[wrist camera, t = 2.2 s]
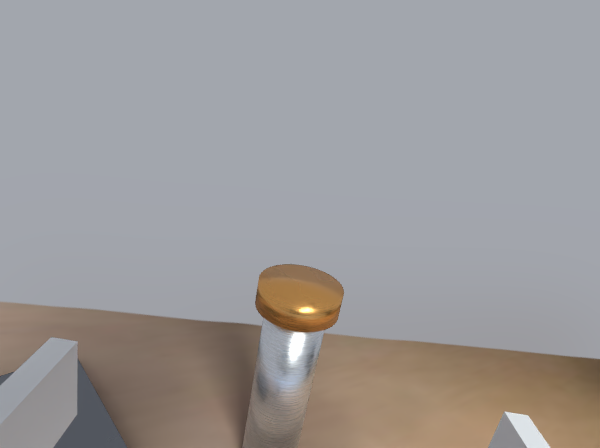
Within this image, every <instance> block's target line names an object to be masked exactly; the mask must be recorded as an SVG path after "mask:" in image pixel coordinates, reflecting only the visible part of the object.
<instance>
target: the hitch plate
mask: <svg viewBox="0 0 600 448" xmlns="http://www.w3.org/2000/svg"><path fill="white" fill-rule="evenodd" d="M13 373H14V372H12V373H9V374H5V375H2V376H0V385H1V384H2V383H3V382H5V381H6V380H7V379H8V378H9V377H10V376H11V375H12V374H13ZM53 448H127V446H126V445H125V443H124V441H123V439H122V437H121V436H120V434H119V432H118V430H117V428H116V427H115V425H114V423H113V421H112V419H111V418H110V416H109V414H108V412H107V410H106V409H105V407H104V405H103V403H102V401H101V400H100V398H99V396H98V394H97V392H96V391H95V389H94V387H93V385H92V383H91V382H90V380H89V378H88V376H87V374H86V373H85V371H84V369H83V367H82V365H81V364H80V362H79V360H78V361H77V415H76V417H75V418H74V419H73V421H72V422H71V424H70V425H69V426H68V428H67V429H66V431H65V432H64V433H63V435H62V436H61V438H60V439H59V440H58V442H57V443H56V444H55V446H54V447H53Z"/></svg>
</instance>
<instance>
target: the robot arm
mask: <svg viewBox="0 0 600 448" xmlns="http://www.w3.org/2000/svg"><path fill="white" fill-rule="evenodd" d="M77 361H78V341H72V340H65V339H59V338H53V337H51V338H50V339H49V340H48V341H47V342H46V343H45V344H44V345H43V346H41V347H40V348H39V349H38V350H37V351H36V352H35V353H34V354H33V355H32V356H31V357H30V358H29V359H28V360H27V361H26V362H25V363H24V364H22V365H21V366H20V367H19V368H18V369H17V370H16V371H15V372H14V373H13V374H12V375H11V376H10V377H9V378H8V379H7V380H6V381H5V382H3V383H2V384H1V385H0V448H53V447H54V446H55V444H56V443H57V442H58V440H59V439H60V438H61V436H62V435H63V433H64V432H65V431H66V429H67V428H68V426H69V425H70V424H71V422H72V421H73V419H74V418H75V417H76V415H77ZM488 448H550V446H549V445H548V444H547V442H546V441H545V439H544V438H543V436H542V435H541V433H540V432H539V431H538V429H537V428H536V426H535V425H534V423H533V422H532V421H531V419H530V418H529V416H528V415H522V414H516V413H510V412H504V413H503V416H502V418H501V420H500V422H499V424H498V427H497V429H496V431H495V433H494V436H493V438H492V440H491V442H490V444H489V447H488Z"/></svg>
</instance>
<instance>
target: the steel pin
mask: <svg viewBox="0 0 600 448" xmlns="http://www.w3.org/2000/svg"><path fill="white" fill-rule="evenodd" d="M343 294H344V290H343V287H342V285H341V284H340V283H339V282H338V281H337V280H336V279H335V278H333V277H332V276H330V275H329V274H327V273H325V272H323V271H320V270H318V269H315V268H311V267H307V266H302V265H292V264H284V265H276V266H272V267H269V268H267V269H265V270H264V271H263V272H262V273H261V274H260V276H259V282H258V289H257V295H256V301H255V304H256V308H257V310H258V312H259V313H260V314H261V316H262V317H263V324H262V330H261V336H260V342H259V348H258V354H257V360H256V366H255V373H254V379H253V385H252V391H251V397H250V403H249V409H248V415H247V422H246V428H245V434H244V440H243V446H242V448H298V445H299V440H300V436H301V431H302V427H303V423H304V418H305V414H306V409H307V405H308V400H309V396H310V392H311V387H312V383H313V378H314V374H315V369H316V365H317V360H318V356H319V352H320V347H321V343H322V338H323V334H324V330H325V329H328V328H330V327H332V326H333V325H334V324H335V323H336V322H337V320H338V316H339V312H340V307H341V303H342V299H343Z"/></svg>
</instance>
